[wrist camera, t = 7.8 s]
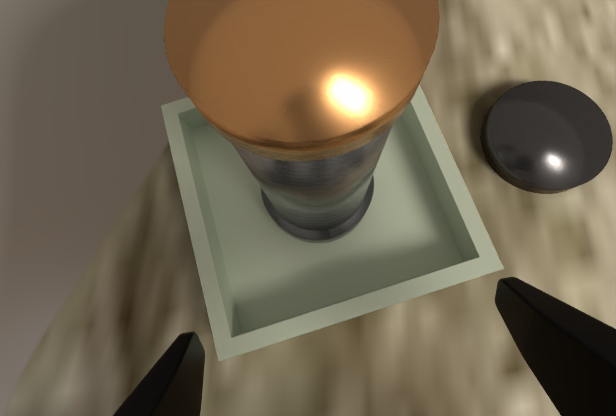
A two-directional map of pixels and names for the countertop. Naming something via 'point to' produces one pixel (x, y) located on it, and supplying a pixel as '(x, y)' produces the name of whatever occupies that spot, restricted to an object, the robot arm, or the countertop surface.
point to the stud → (546, 137)
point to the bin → (323, 256)
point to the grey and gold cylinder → (304, 94)
